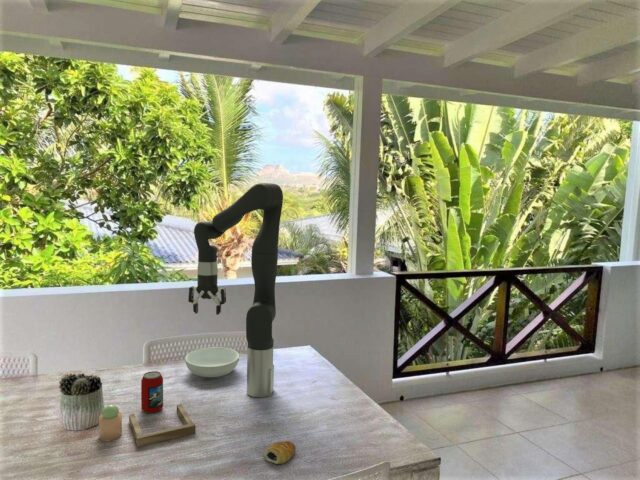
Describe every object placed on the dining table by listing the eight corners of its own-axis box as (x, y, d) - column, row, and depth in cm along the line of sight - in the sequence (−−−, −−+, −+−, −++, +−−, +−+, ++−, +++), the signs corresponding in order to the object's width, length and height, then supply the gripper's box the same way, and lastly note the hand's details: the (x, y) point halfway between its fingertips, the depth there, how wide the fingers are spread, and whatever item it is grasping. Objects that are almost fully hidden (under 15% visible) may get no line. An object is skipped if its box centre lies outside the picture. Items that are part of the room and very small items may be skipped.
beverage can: (156, 415, 149) (155, 379, 148) (137, 412, 151) (136, 377, 149) (167, 406, 156) (167, 371, 155) (148, 403, 157) (148, 369, 156)
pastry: (282, 444, 136) (283, 432, 135) (301, 452, 132) (302, 439, 132) (261, 459, 128) (261, 446, 127) (280, 468, 124) (281, 455, 124)
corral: (128, 422, 145) (128, 414, 144) (182, 411, 153) (182, 403, 153) (137, 447, 131) (137, 438, 131) (195, 433, 140) (195, 425, 140)
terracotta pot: (125, 430, 140) (125, 401, 139) (115, 441, 134) (115, 410, 133) (106, 429, 140) (105, 400, 139) (95, 440, 134) (94, 409, 133)
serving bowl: (173, 374, 183) (173, 357, 182) (214, 359, 200) (214, 343, 199) (210, 388, 171) (210, 370, 170) (249, 371, 188) (250, 354, 187)
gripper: (186, 273, 177) (185, 315, 179) (223, 275, 176) (222, 317, 178) (192, 270, 184) (192, 310, 186) (228, 271, 183) (227, 312, 185)
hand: (207, 313), depth 182 cm, fingers open, 8 cm apart
